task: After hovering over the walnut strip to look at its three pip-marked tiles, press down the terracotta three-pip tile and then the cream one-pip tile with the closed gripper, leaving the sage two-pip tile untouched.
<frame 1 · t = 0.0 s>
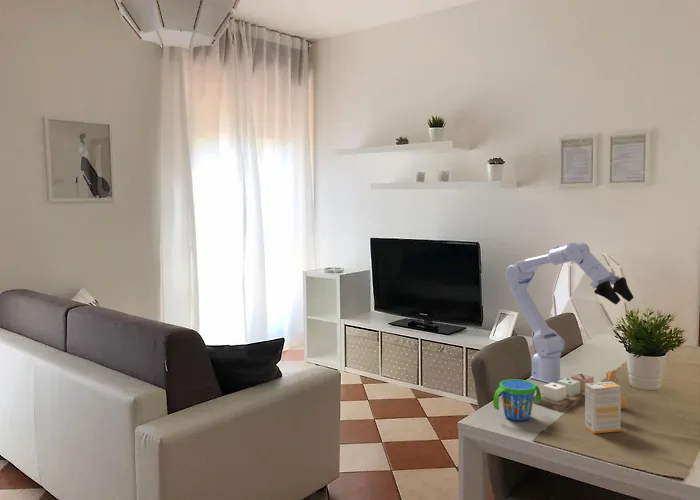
hand: (624, 300, 184), 32 cm above the table, tool tilted 50°, fingers open, 7 cm apart
tile three: (582, 382, 193), point 4 cm above the table, slide at 0.0 cm
tile one: (554, 391, 184), point 4 cm above the table, slide at 0.0 cm
snack cup: (517, 417, 174), on the table
tile two: (568, 386, 189), point 4 cm above the table, slide at 0.0 cm
supplement box: (602, 430, 163), on the table
figurine: (616, 408, 180), on the table
tile board: (568, 398, 189), on the table
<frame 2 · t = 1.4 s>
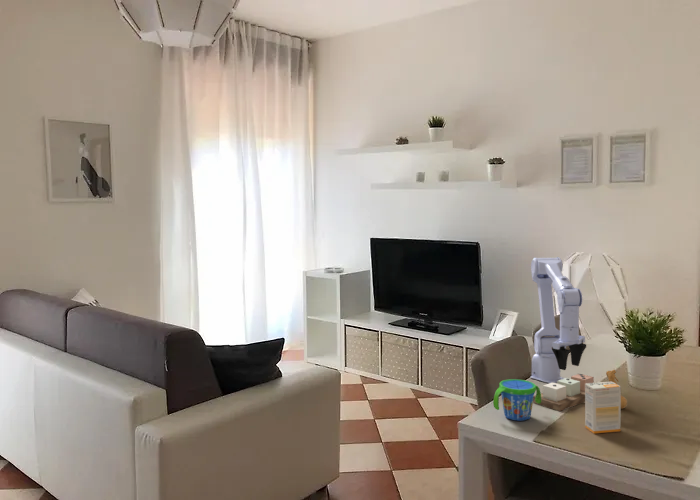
hand: (568, 367, 188), 10 cm above the table, tool pointing down, fingers open, 6 cm apart
nothing on the table moved.
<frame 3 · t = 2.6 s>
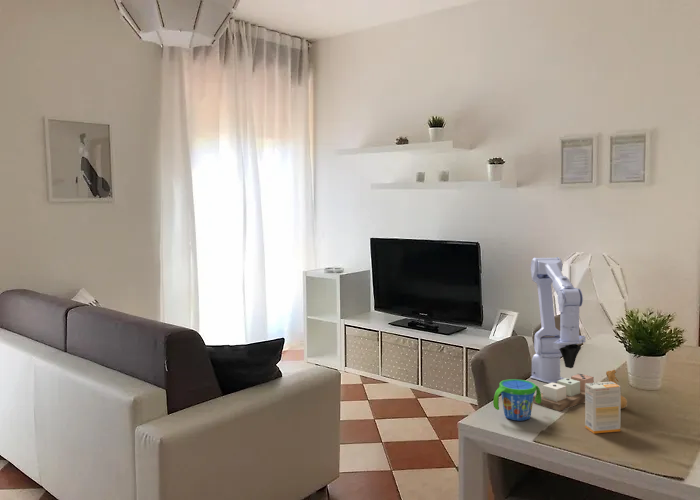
hand: (569, 367, 188), 10 cm above the table, tool pointing down, fingers closed
nothing on the table moved.
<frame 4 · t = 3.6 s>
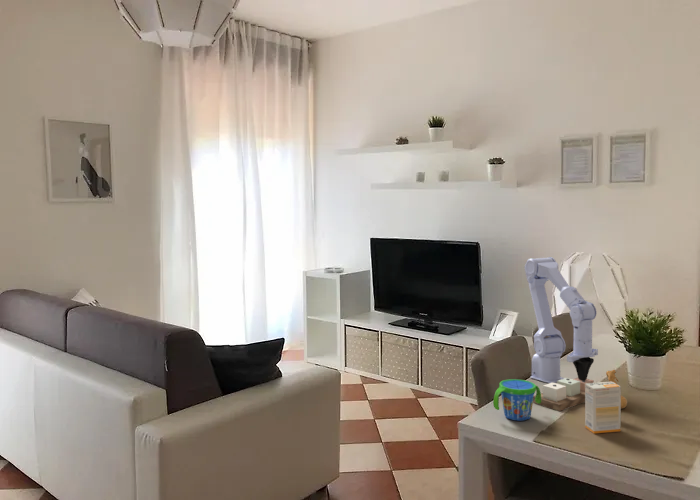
hand: (582, 379, 193), 5 cm above the table, tool pointing down, fingers closed, pressing on tile three
tile three: (582, 385, 193), point 3 cm above the table, slide at 1.1 cm, touching gripper
everything else where it was.
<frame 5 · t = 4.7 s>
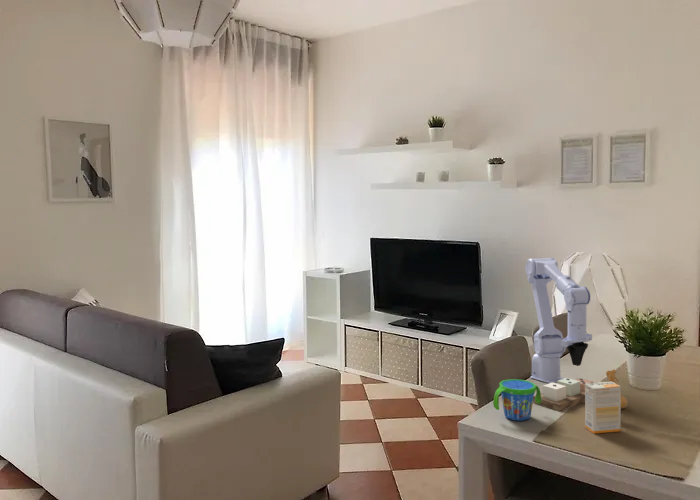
hand: (576, 364, 190), 10 cm above the table, tool pointing down, fingers closed
tile three: (582, 386, 193), point 2 cm above the table, slide at 1.6 cm
everything else where it was.
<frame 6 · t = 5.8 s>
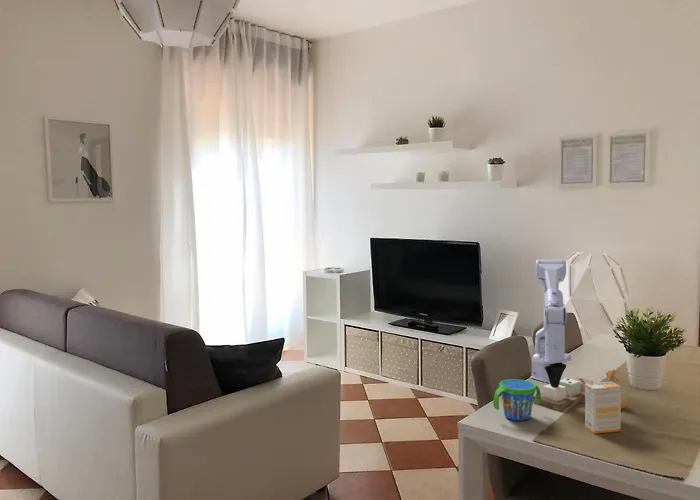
hand: (554, 386, 184), 6 cm above the table, tool pointing down, fingers closed, pressing on tile one
tile one: (554, 392, 185), point 4 cm above the table, slide at 0.2 cm, touching gripper
everything else where it was.
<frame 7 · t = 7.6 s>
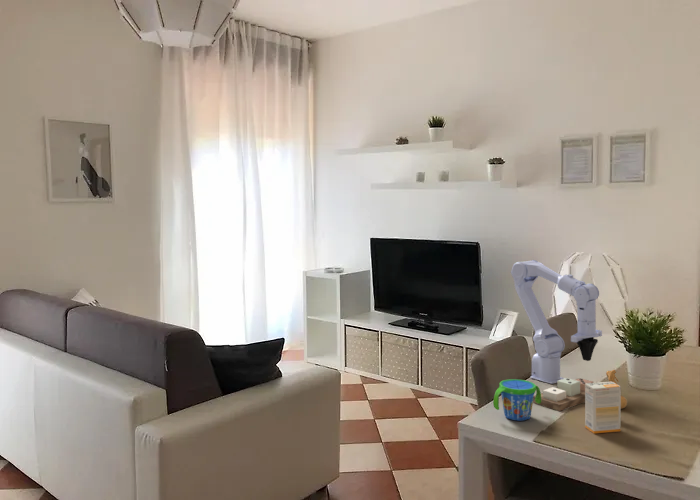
hand: (586, 360, 196), 10 cm above the table, tool pointing down, fingers closed
tile one: (554, 396, 185), point 2 cm above the table, slide at 1.6 cm
everything else where it was.
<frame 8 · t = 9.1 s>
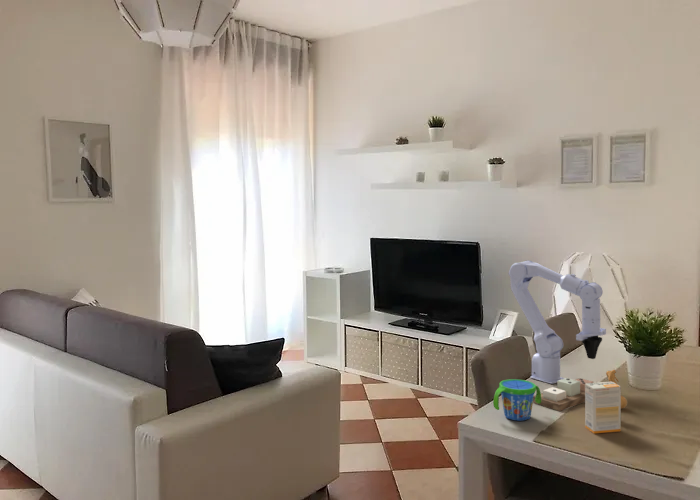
hand: (591, 358, 198), 10 cm above the table, tool pointing down, fingers closed
nothing on the table moved.
at the end: tile three slide at 1.6 cm; tile one slide at 1.6 cm; tile two slide at 0.0 cm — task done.
